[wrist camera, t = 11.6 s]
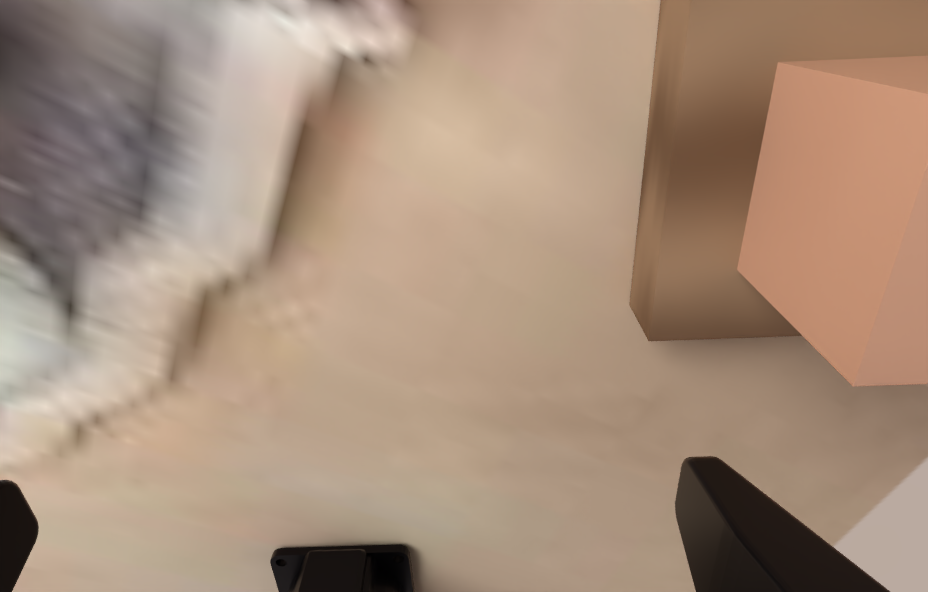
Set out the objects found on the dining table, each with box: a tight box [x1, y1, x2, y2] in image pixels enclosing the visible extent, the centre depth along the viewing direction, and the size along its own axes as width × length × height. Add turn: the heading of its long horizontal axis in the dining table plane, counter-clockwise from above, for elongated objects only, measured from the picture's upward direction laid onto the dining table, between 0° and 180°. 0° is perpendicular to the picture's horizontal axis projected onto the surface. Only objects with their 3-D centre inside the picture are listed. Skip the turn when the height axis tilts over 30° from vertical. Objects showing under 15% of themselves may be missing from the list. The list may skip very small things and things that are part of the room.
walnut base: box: [630, 0, 928, 341], centre depth 17 cm, size 11×11×2 cm
